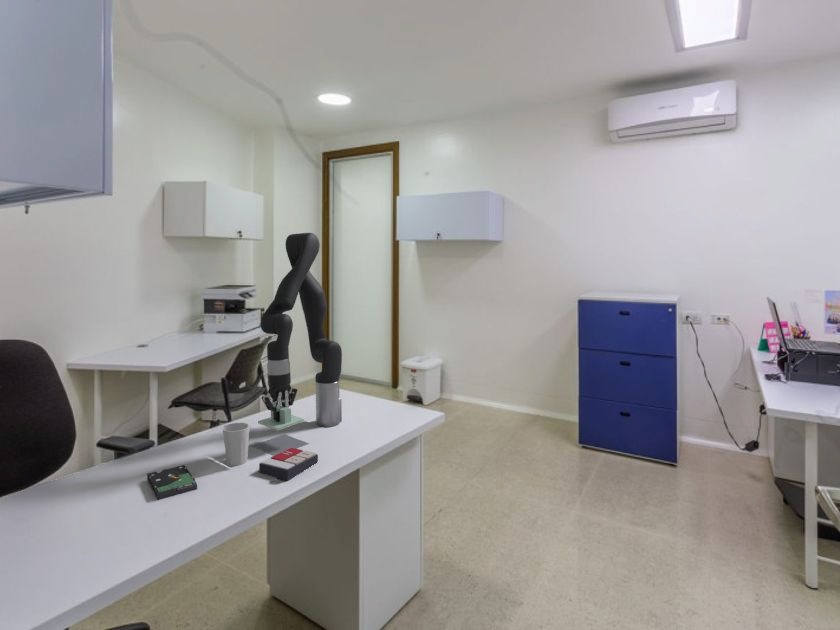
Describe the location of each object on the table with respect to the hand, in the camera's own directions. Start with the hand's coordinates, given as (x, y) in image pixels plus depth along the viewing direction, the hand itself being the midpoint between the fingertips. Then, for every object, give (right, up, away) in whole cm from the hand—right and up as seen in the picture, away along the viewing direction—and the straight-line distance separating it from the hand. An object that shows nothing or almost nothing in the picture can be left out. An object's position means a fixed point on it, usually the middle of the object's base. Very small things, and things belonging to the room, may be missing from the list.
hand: (281, 419), depth 167 cm
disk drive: (-24, -14, -28) cm, 39 cm away
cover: (0, -1, 0) cm, 1 cm away
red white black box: (+7, -12, -16) cm, 21 cm away
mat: (-1, -9, +1) cm, 10 cm away
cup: (-10, -11, -13) cm, 20 cm away
